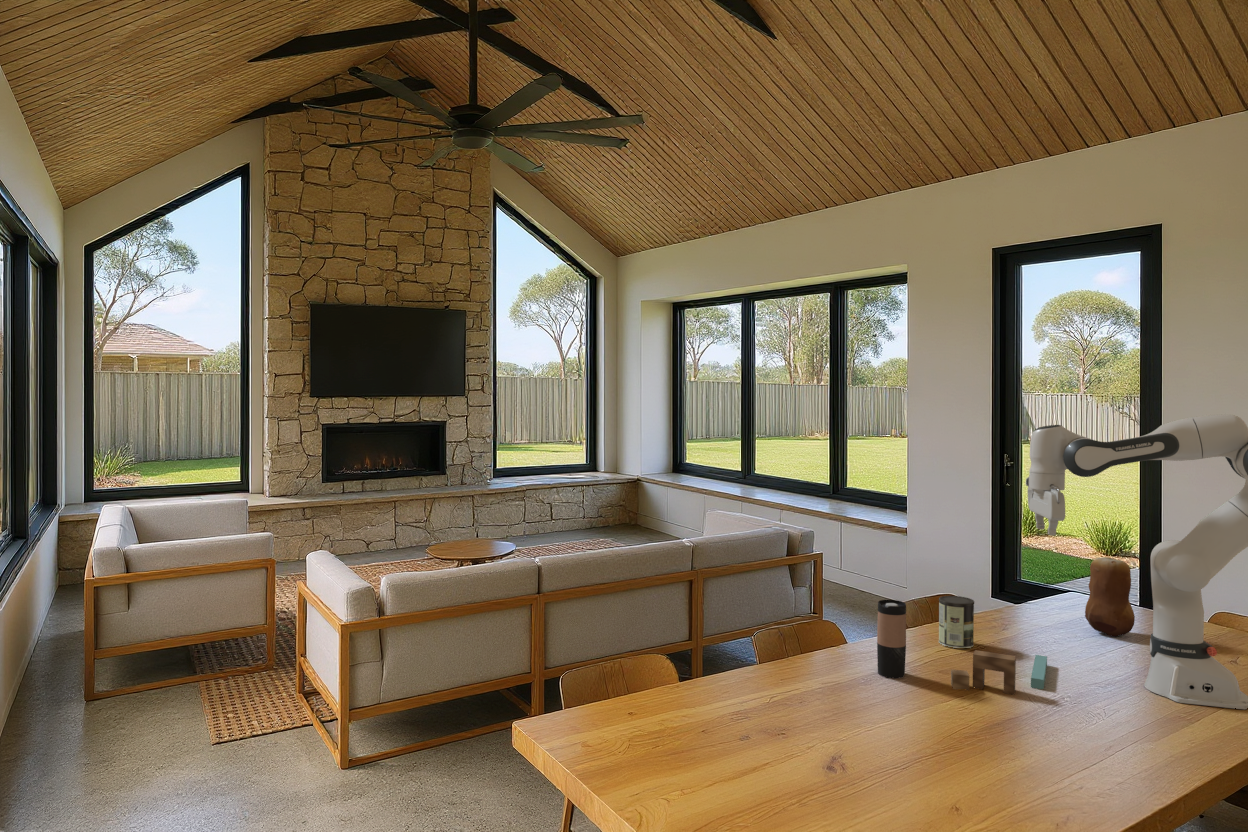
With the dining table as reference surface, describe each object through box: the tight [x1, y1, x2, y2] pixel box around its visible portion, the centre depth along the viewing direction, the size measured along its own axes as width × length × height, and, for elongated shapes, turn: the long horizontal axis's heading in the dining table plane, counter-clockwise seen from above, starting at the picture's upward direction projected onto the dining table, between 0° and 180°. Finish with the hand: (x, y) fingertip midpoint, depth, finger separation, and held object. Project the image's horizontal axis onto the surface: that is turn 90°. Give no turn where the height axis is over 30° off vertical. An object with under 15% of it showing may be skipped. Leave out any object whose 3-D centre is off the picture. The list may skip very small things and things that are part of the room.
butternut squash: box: [1084, 556, 1136, 638], centre depth 263 cm, size 14×13×25 cm
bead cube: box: [950, 669, 970, 691], centre depth 216 cm, size 4×4×4 cm
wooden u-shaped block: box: [972, 649, 1017, 695], centre depth 214 cm, size 10×4×9 cm, turn 60°
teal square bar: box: [1030, 654, 1048, 690], centre depth 224 cm, size 3×22×3 cm, turn 150°
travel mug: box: [876, 599, 907, 679], centre depth 225 cm, size 8×8×20 cm
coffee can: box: [938, 595, 975, 649], centre depth 252 cm, size 10×10×14 cm
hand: (1045, 532), depth 226 cm, fingers open, 8 cm apart
